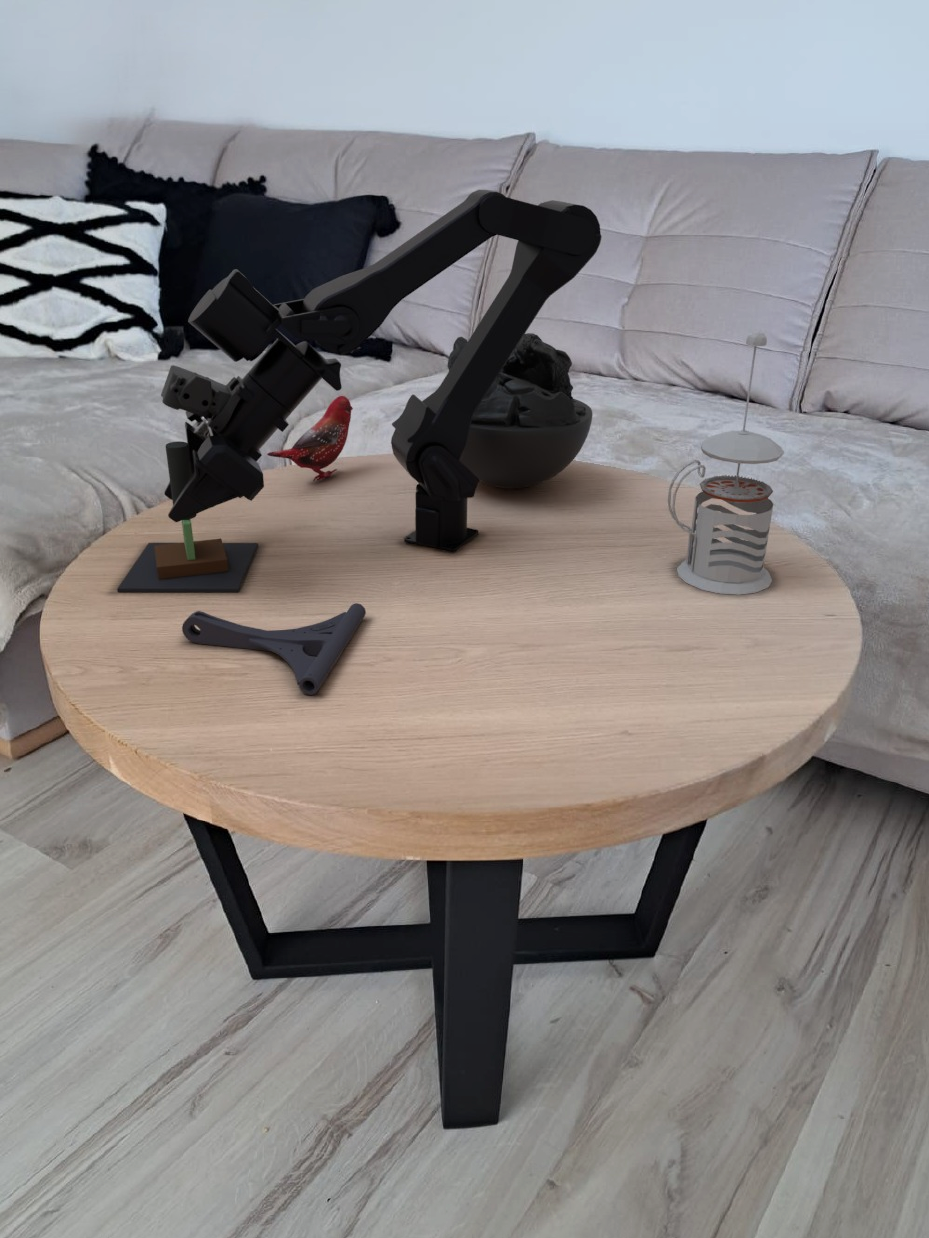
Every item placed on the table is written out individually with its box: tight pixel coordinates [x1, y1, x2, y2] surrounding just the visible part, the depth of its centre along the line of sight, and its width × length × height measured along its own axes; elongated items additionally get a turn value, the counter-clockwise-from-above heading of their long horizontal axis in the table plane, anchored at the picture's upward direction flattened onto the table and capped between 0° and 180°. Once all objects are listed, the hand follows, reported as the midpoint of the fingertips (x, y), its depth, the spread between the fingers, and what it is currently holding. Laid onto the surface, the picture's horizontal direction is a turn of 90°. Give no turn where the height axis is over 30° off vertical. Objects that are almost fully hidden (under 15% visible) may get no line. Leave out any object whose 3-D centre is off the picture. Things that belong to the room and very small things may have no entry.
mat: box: [116, 542, 259, 593], centre depth 105 cm, size 12×12×1 cm
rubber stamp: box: [154, 440, 228, 579], centre depth 102 cm, size 7×6×13 cm
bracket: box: [181, 602, 367, 696], centre depth 89 cm, size 14×15×3 cm
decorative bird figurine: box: [266, 395, 354, 482], centre depth 127 cm, size 3×18×10 cm, turn 150°
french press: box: [667, 331, 785, 596], centre depth 99 cm, size 10×12×25 cm
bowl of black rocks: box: [447, 332, 594, 489], centre depth 126 cm, size 20×20×19 cm
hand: (169, 507), depth 101 cm, fingers open, 6 cm apart
